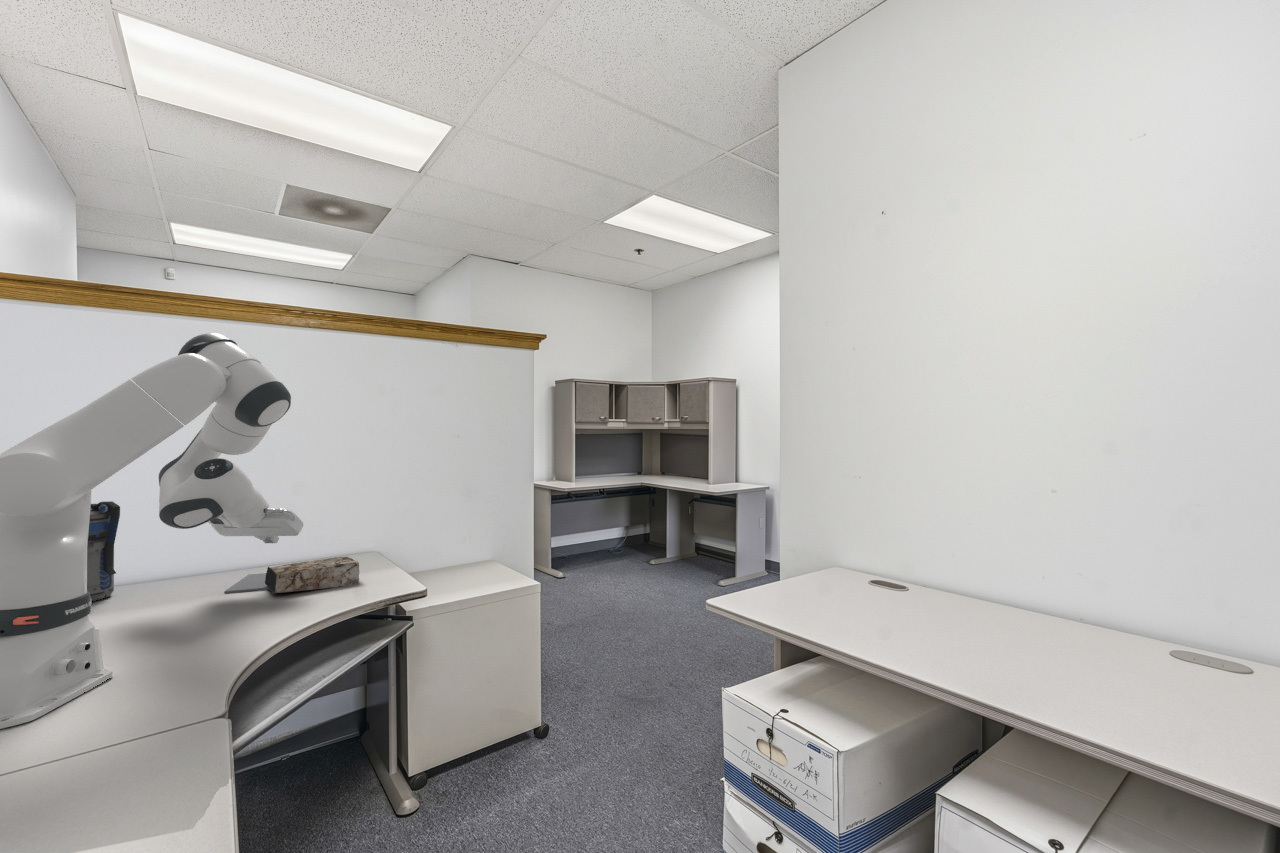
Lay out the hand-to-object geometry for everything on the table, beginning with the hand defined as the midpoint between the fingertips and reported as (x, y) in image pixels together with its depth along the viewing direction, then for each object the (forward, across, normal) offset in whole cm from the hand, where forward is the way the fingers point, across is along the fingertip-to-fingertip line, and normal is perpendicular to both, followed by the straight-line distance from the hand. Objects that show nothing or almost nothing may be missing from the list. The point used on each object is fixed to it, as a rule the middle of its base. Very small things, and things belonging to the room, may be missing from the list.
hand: (272, 541), depth 146 cm
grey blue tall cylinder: (+2, +39, +15) cm, 42 cm away
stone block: (+3, -2, +10) cm, 11 cm away
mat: (+13, +3, +4) cm, 14 cm away
